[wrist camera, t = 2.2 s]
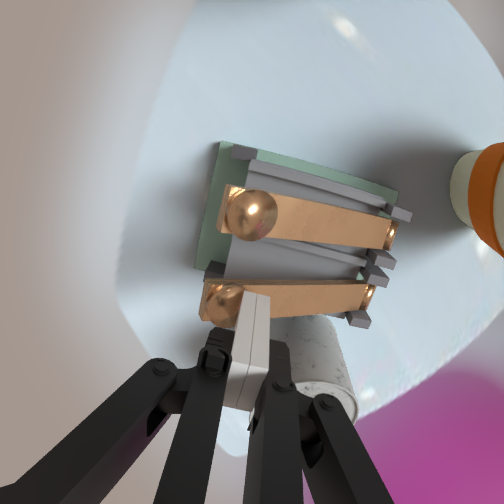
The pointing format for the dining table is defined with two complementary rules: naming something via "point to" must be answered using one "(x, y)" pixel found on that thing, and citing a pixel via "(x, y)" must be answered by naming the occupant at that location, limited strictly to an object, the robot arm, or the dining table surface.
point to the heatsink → (285, 250)
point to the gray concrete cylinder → (315, 358)
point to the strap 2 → (283, 297)
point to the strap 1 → (300, 220)
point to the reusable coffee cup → (481, 193)
